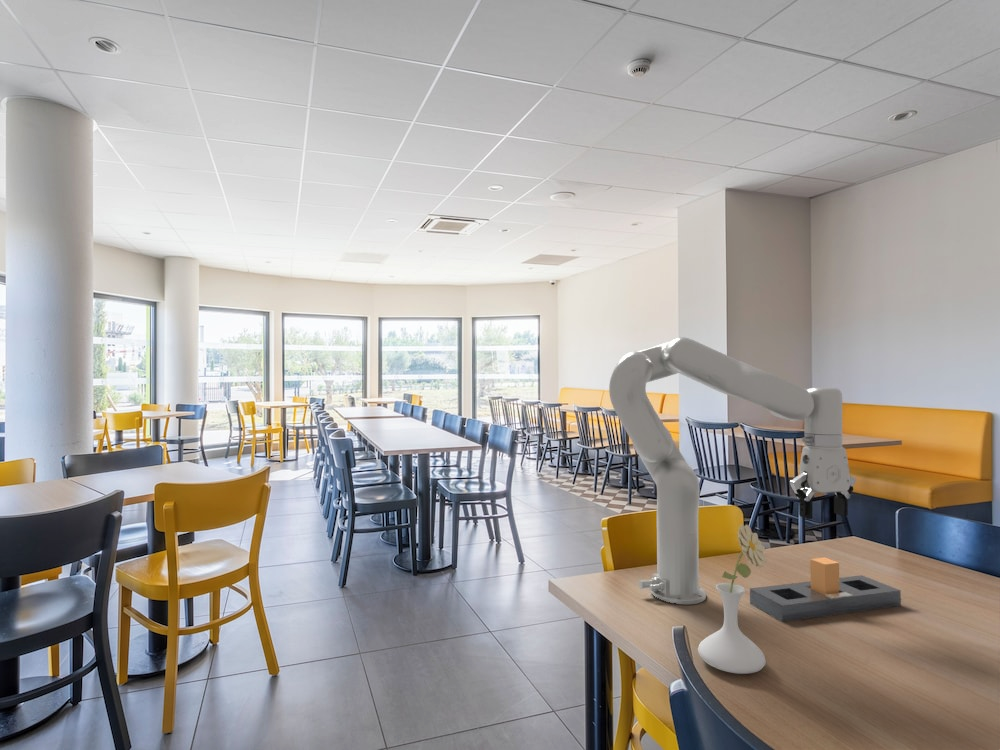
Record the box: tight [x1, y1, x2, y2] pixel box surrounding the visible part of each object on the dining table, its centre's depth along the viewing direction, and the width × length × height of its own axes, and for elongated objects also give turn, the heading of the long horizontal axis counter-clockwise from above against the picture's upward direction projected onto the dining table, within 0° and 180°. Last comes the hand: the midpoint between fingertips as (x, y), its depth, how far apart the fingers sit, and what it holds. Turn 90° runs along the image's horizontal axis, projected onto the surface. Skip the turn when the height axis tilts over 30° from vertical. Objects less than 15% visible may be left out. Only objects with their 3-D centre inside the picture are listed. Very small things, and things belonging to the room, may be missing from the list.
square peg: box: [809, 556, 840, 595], centre depth 127 cm, size 4×4×10 cm
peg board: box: [749, 574, 902, 623], centre depth 127 cm, size 32×10×4 cm, turn 105°
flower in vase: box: [697, 523, 768, 675], centre depth 101 cm, size 13×11×25 cm
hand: (823, 516), depth 127 cm, fingers open, 9 cm apart
